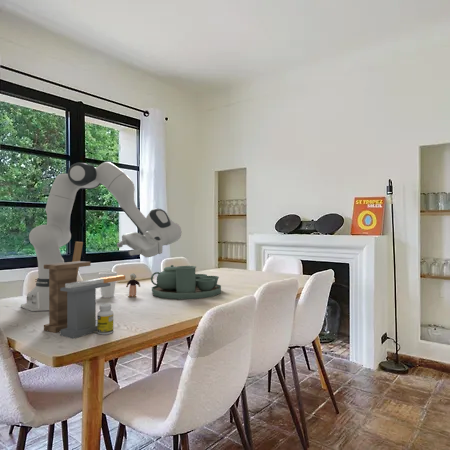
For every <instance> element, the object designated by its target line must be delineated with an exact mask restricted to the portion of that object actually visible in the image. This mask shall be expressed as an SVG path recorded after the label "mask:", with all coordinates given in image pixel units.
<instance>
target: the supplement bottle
mask: <svg viewBox="0 0 450 450" xmlns="http://www.w3.org/2000/svg"><path fill="white" fill-rule="evenodd" d="M96 317H97V318H96V320H97V331H96V332H97V334H98V335H103V336H106V335H111V334H112V333H114V312H113V310H112V305H111V303H110V304H109V303H104V304H100V305H99V311H98V312H97V316H96Z"/></svg>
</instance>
